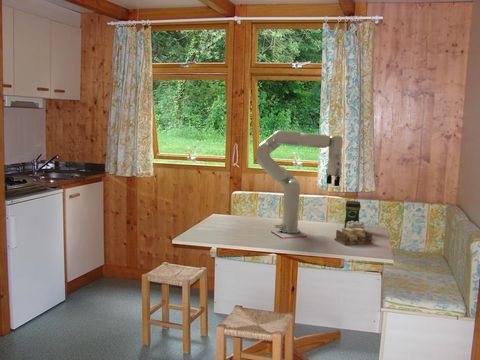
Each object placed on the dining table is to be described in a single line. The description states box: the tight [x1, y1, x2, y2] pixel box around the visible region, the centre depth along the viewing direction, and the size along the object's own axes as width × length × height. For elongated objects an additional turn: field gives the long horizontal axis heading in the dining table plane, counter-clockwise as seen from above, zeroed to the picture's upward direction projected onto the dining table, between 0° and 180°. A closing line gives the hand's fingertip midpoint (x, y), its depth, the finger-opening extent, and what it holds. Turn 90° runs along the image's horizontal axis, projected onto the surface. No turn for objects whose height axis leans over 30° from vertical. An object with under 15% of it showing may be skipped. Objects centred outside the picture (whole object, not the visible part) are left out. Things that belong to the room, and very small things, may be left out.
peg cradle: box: [334, 229, 374, 246], centre depth 285 cm, size 18×12×6 cm, turn 108°
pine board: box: [341, 227, 366, 238], centre depth 285 cm, size 12×5×4 cm, turn 107°
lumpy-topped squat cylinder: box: [346, 221, 365, 238], centre depth 302 cm, size 10×13×9 cm
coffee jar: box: [343, 200, 361, 228], centre depth 318 cm, size 10×8×19 cm
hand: (332, 184), depth 299 cm, fingers open, 9 cm apart
